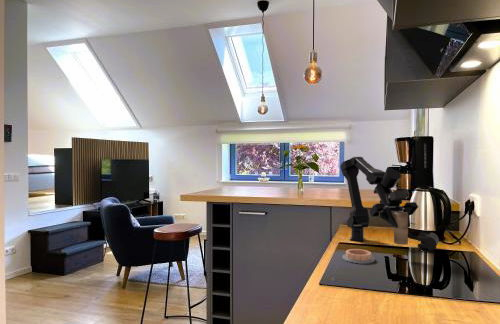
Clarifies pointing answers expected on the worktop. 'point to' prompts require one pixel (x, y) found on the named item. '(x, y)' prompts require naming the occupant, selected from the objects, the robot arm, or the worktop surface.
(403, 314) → the worktop surface
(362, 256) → the collar
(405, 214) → the walnut peg
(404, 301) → the worktop surface
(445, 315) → the worktop surface
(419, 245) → the end cap
